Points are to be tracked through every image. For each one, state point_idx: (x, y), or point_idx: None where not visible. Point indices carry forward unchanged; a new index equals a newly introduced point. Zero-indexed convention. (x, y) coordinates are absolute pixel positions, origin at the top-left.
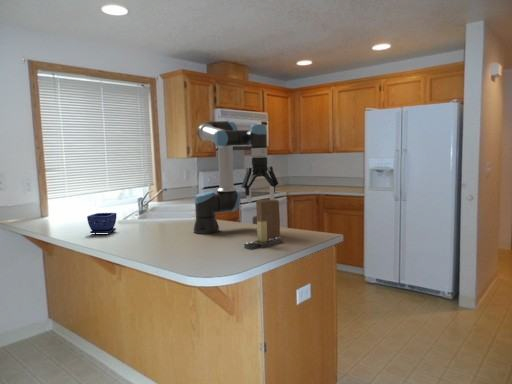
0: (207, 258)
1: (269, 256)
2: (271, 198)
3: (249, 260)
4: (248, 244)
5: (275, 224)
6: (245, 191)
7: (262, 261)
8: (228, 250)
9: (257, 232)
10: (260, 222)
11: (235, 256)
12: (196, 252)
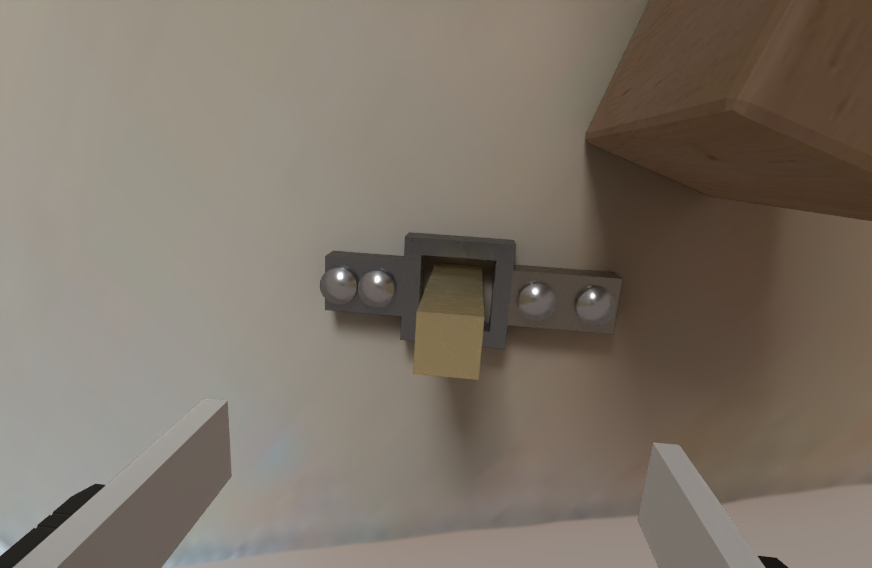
0: (57, 288)
1: (327, 489)
2: (651, 495)
3: None
4: (330, 299)
5: (737, 190)
6: (19, 546)
7: (250, 523)
8: (226, 227)
9: (427, 285)
10: (414, 364)
11: (194, 365)
12: (48, 116)
